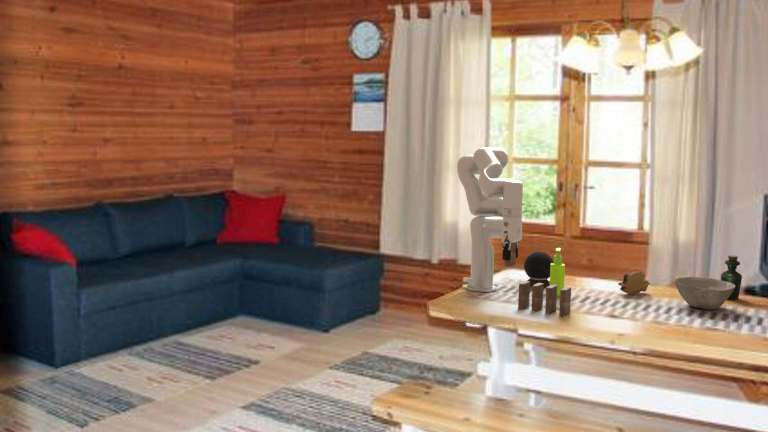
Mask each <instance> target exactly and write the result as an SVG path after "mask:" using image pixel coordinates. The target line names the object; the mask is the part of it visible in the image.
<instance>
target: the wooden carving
mask: <svg viewBox="0 0 768 432" xmlns="http://www.w3.org/2000/svg"><path fill="white" fill-rule="evenodd" d="M645 277H646V273H645V272H644V271H643V272H642V271H637V270H633V271H630V272H629V271H628V273H625V274H624V275H623V280H622V281H621V282H617V284H618V286H620V287H619V290H620V291H621V292H623V293H626V294H627V295H630V296H634V295H639V293H641V292H643V293H645V292H647V289H648V287H649V285H650V282H649V281H648V280H646V279H645Z"/></svg>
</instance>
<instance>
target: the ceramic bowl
mask: <svg viewBox="0 0 768 432" xmlns="http://www.w3.org/2000/svg"><path fill="white" fill-rule="evenodd" d="M673 282H674V285H675V286H676V289H677V291H678V293H679V295H680V296H681V298H682V300H684V301H685V302H686V304H687V305H689V306H691V307H692V308H698V309H702V310H706V311H708V310H709V311H712V310H713V311H714V310H717V309H720V308H721V307H722V306H723V305H724V304H725V302H726V301H727V300H728V298H729V296H730V295H731V293H732V291H733V290H734V288H735V285H734V284H732V283H729V282H726V281H721V279H716V278H712V277H711V278H710V277H708V278H707V277H698V276H682V277H678V278H674V279H673Z"/></svg>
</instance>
